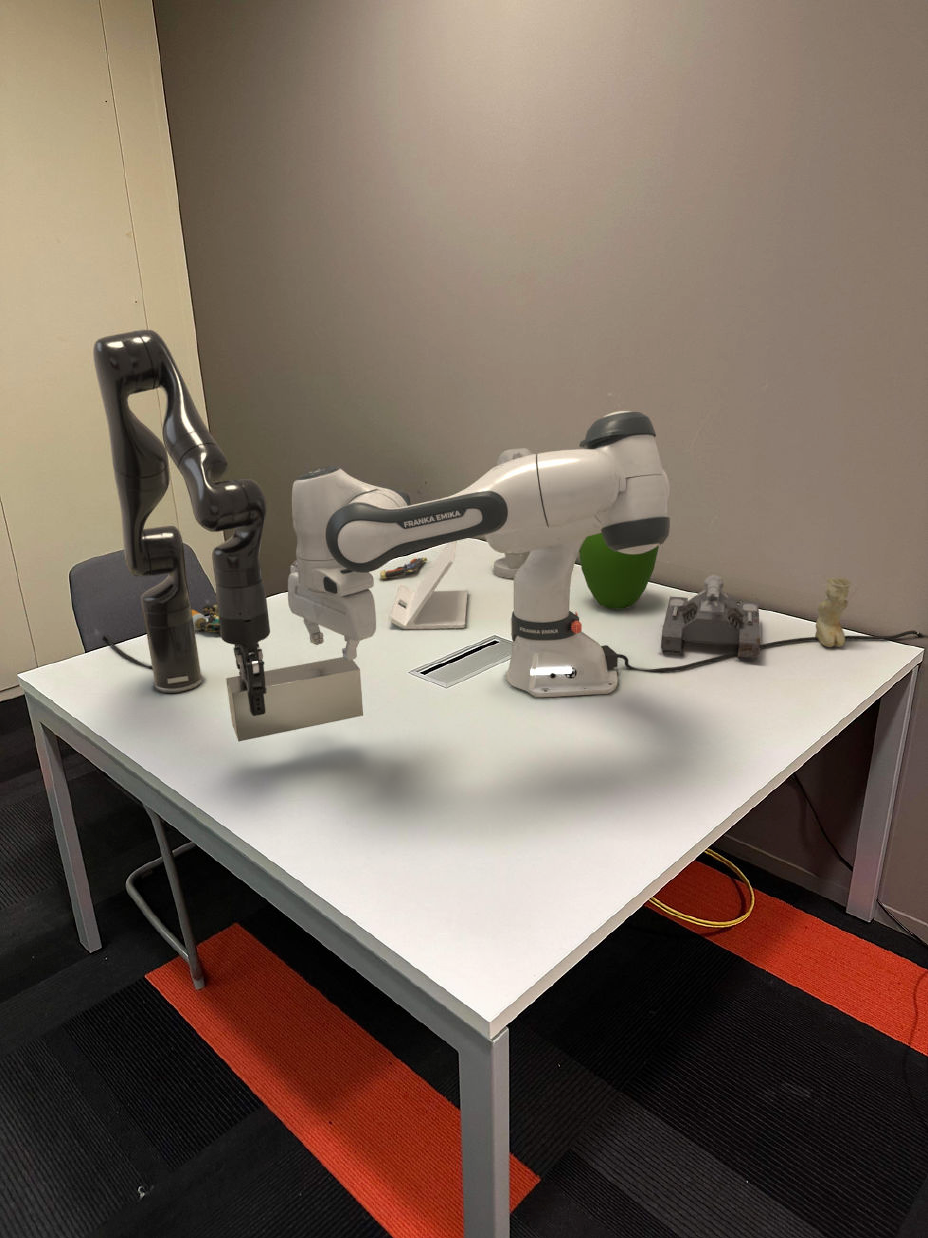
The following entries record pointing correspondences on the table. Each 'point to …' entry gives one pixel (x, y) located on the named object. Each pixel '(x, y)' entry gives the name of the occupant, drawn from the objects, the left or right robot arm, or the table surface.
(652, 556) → the vase
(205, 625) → the spray gun
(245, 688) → the box
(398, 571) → the toy gun
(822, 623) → the sculpture
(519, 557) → the bust sculpture
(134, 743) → the table surface
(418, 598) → the tablet stand
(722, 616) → the toy
